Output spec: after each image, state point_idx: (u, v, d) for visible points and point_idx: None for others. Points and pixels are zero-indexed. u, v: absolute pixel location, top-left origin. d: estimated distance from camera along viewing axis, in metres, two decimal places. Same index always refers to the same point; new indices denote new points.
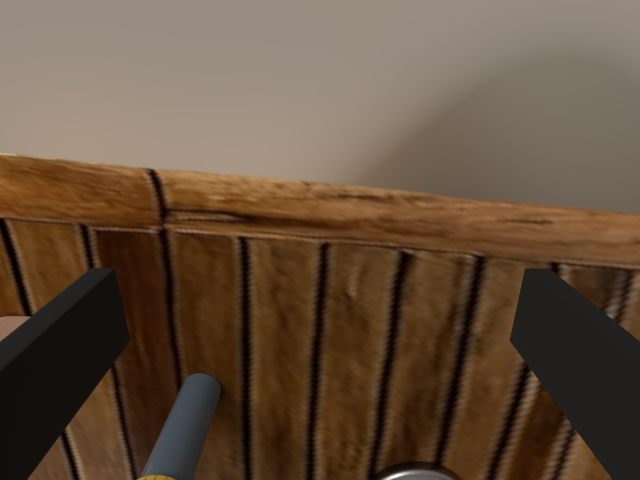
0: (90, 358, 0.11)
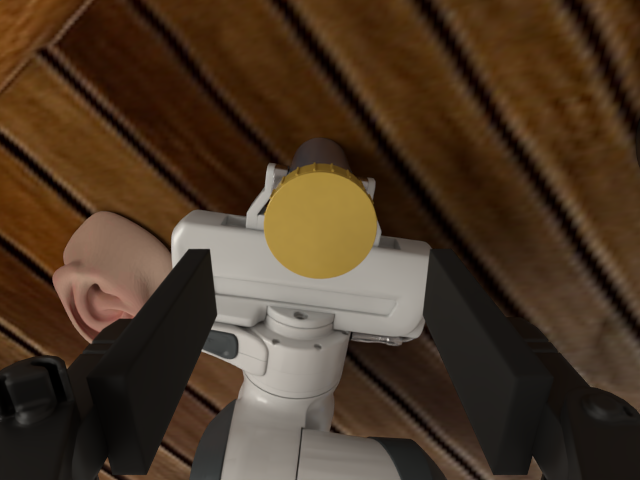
0: (198, 326, 0.12)
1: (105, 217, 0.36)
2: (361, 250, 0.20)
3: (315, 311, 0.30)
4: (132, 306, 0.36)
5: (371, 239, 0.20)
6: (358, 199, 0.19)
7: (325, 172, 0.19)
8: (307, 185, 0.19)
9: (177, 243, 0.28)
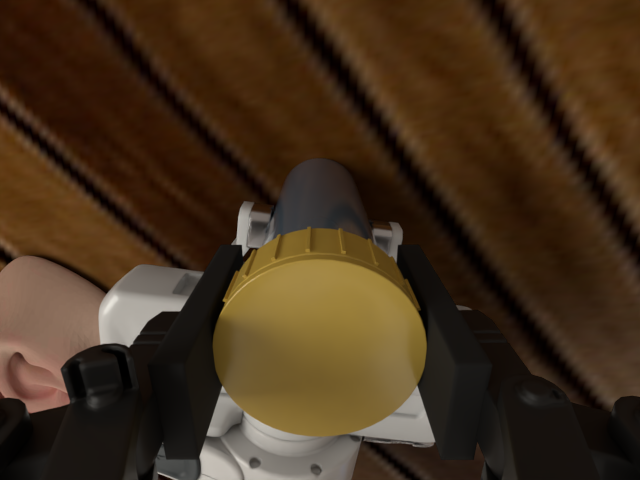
0: None
1: (29, 264, 0.26)
2: (395, 392, 0.11)
3: None
4: None
5: (415, 375, 0.11)
6: (393, 308, 0.10)
7: (329, 259, 0.09)
8: (294, 283, 0.10)
9: (106, 322, 0.19)
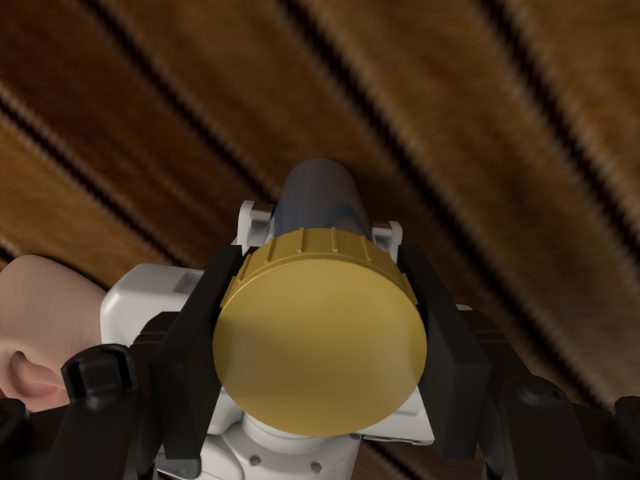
0: None
1: (31, 263, 0.26)
2: (362, 284, 0.10)
3: None
4: None
5: (336, 267, 0.09)
6: (253, 300, 0.10)
7: (213, 355, 0.10)
8: (240, 381, 0.11)
9: (108, 320, 0.19)
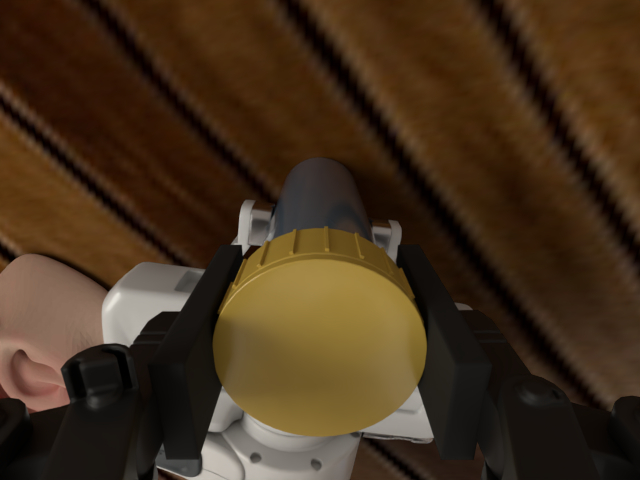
0: None
1: (32, 262, 0.27)
2: (231, 329, 0.10)
3: None
4: None
5: (219, 350, 0.10)
6: (262, 409, 0.11)
7: (325, 435, 0.11)
8: (352, 417, 0.11)
9: (109, 318, 0.19)
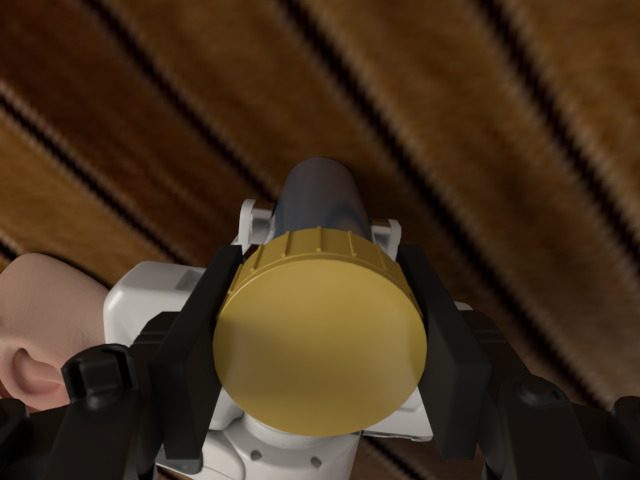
0: None
1: (34, 261, 0.27)
2: (295, 423, 0.11)
3: None
4: None
5: (319, 432, 0.11)
6: (387, 401, 0.11)
7: (426, 344, 0.10)
8: (399, 322, 0.10)
9: (111, 317, 0.19)
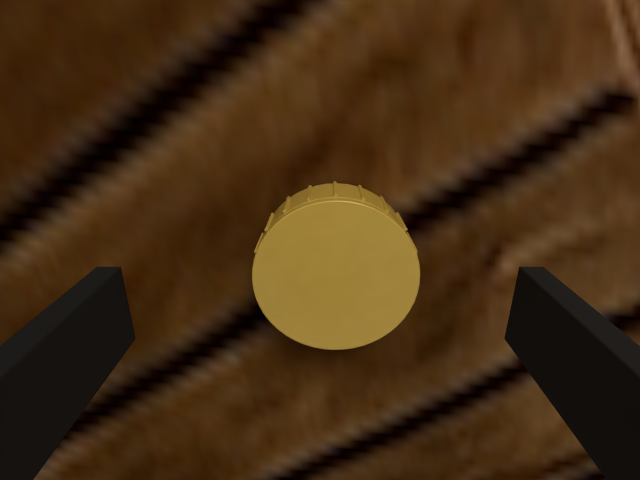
0: (97, 356, 0.11)
1: None
2: (315, 338, 0.14)
3: None
4: None
5: (334, 345, 0.14)
6: (388, 319, 0.14)
7: (419, 271, 0.13)
8: (397, 252, 0.13)
9: None
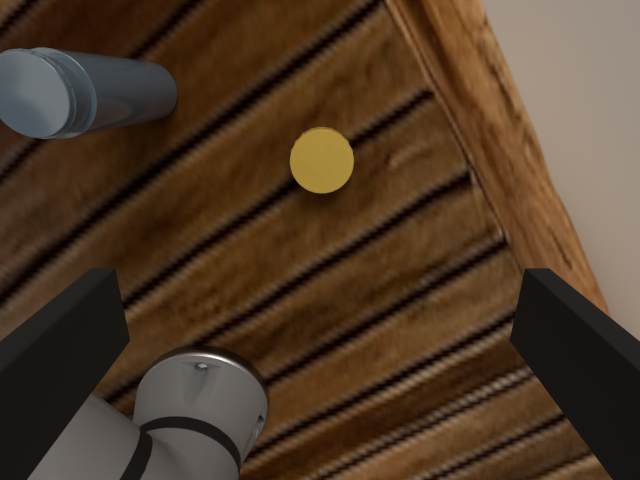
0: (90, 358, 0.11)
1: None
2: (314, 187, 0.36)
3: None
4: None
5: (321, 191, 0.36)
6: (342, 178, 0.36)
7: (353, 158, 0.35)
8: (344, 150, 0.35)
9: None
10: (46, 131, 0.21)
